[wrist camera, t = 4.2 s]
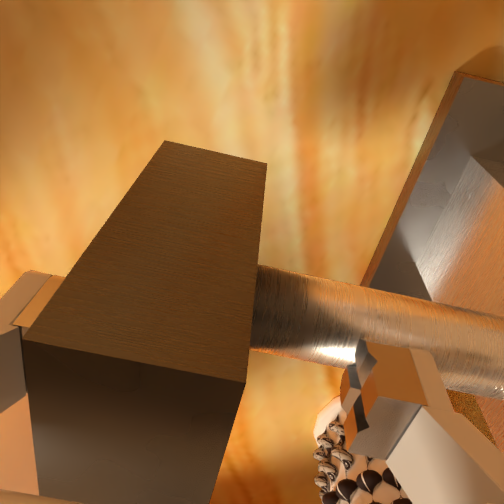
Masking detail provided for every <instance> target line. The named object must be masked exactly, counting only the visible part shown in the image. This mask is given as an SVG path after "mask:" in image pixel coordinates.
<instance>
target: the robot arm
mask: <svg viewBox="0 0 504 504" xmlns="http://www.w3.org/2000/svg"><path fill="white" fill-rule="evenodd" d="M64 279H65V277H61V276H57V275H50V274H46V273H41V272H37V271H33V270H30V271H27V272H25V273H24V274H23V275H22V276H21V277H20V278H19V279H18V280H17V281H16V282H15V284H14V285H13V286H12V287H11V288H10V289H9V290H8V291H7V293H6V294H5V295H4V296H3V297H2V298H1V299H0V414H1V413H2V412H3V411H5V410H6V409H8V408H9V407H11V406H12V405H13V404H15V403H16V402H18V401H19V400H21V399H22V398H24V397H25V396H26V393H27V384H26V375H25V366H24V357H23V348H22V340H21V339H22V338H23V336H24V335H25V333H26V332H27V331H28V329H29V328H30V326H31V325H32V324H33V322H34V321H35V320H36V318H37V317H38V315H39V314H40V313H41V311H42V310H43V308H44V307H45V306H46V304H47V303H48V301H49V300H50V299H51V297H52V296H53V295H54V293H55V292H56V290H57V289H58V288H59V286H60V285H61V283H62V282H63V281H64ZM354 357H355V363H354V364H351V365H347V366H346V368H345V371H344V373H343V375H342V380H341V386H340V401H341V407H342V408H343V410H344V411H345V412H346V413H347V415H348V416H347V418H346V420H345V422H344V424H343V425H344V432H345V440H346V447H347V452H349V453H354V454H358V455H363V456H368V457H372V458H377V459H381V460H386V464H387V465H388V467H389V468H390V470H391V472H392V473H393V475H394V476H395V478H396V479H397V481H398V482H399V484H400V485H401V487H402V488H403V490H404V491H405V493H406V494H407V496H408V497H409V499H410V500H411V502H412V503H413V504H504V454H503V453H502V452H501V451H500V450H499V449H498V448H497V447H496V446H495V445H494V444H493V443H492V442H491V441H490V440H489V439H488V438H487V437H486V436H484V435H483V434H482V433H481V432H480V431H479V430H478V429H477V428H476V427H475V426H474V425H473V424H472V423H471V422H470V421H469V420H468V419H467V418H466V417H465V416H464V415H463V414H461V413H457V412H455V411H454V409H453V406H452V404H451V401H450V399H449V396H448V394H447V391H446V389H445V386H444V384H443V381H442V379H441V376H440V373H439V371H438V368H437V366H436V363H435V361H434V358H433V356H432V354H431V353H430V352H429V351H427V350H422V349H416V348H411V347H403V346H398V345H392V344H387V343H382V342H377V341H372V340H367V339H362V338H361V339H360V340H359V342H358V344H357V347H356V350H355V353H354ZM0 504H84V503H78V502H72V501H67V500H61V499H55V498H49V497H44V496H38V495H32V494H27V493H21V492H15V491H10V490H4V489H0Z"/></svg>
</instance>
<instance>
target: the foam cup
mask: <svg viewBox="0 0 504 504" xmlns="http://www.w3.org/2000/svg"><path fill="white" fill-rule="evenodd" d="M0 489H4V490H10V491H15V492H21V493H27V494H32V495H38V496H39V490H38V481H37V472H36V463H35V454H34V445H33V437H32V428H31V419H30V410H29V401H28V393H26V396H25V397H24V398H22V399H21V400H19V401H18V402H16V403H15V404H13V405H12V406H11V407H9V408H8V409H6V410H5V411H3V412H2V413H1V414H0Z"/></svg>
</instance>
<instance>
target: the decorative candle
mask: <svg viewBox="0 0 504 504" xmlns="http://www.w3.org/2000/svg"><path fill="white" fill-rule="evenodd" d="M347 416H348V415H347V413H346V412H345V411H344V410H343V408H342V407H341V401H340V396H338V397H336V398H333V399H332V400H331V401H330V402H329V403H328V404H327V405H326V406H325V407H324V408H323V409H322V410H321V411H320V412H319V413H318V416H317V420H316V423H315V427H314V437H315V440H316V442H317V445H318V447H319V448H318V449H316V450H315V451H314V452H313V456H314V458H315V459H317V460H319V461H320V462H319V465H318V471H319V472H320V473H319V474H317V475H316V476H315V478H314V481H315V484H316V485H317V486H319V487H321V488H322V489H321V490H320V492H319V496H320V498H321V499H322V504H413V503H412V502H411V500H410V499H409V497H408V496H407V494H406V493H405V491H404V490H403V488H402V487H401V485H400V484H399V482H398V481H397V479H396V478H395V476H394V475H393V473H392V472H391V470H390V468H389V467H388V465H387V464H386V460H381V459H377V458H372V457H368V456H363V455H358V454H354V453H349V452H347V447H346V440H345V432H344V425H343V424H344V422H345V420H346V418H347Z"/></svg>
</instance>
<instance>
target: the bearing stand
mask: <svg viewBox="0 0 504 504" xmlns="http://www.w3.org/2000/svg"><path fill="white" fill-rule="evenodd" d="M360 286H362V287H367V288H372V289H376V290H381V291H386V292H390V293H395V294H400V295H405V296H409V297H414V298H419V299H423V300H428V301H433V302H437V303H442V304H447V305H452V306H456V307H461V308H466V309H470V310H475V311H480V312H485V313H489V314H494V315H499V316H503V317H504V83H501V82H497V81H493V80H489V79H485V78H481V77H477V76H473V75H469V74H465V73H461V72H457V71H455V72H454V74H453V76H452V79H451V81H450V83H449V86H448V88H447V90H446V92H445V95H444V97H443V99H442V101H441V104H440V106H439V108H438V110H437V113H436V115H435V117H434V119H433V122H432V124H431V126H430V129H429V131H428V133H427V135H426V138H425V140H424V142H423V144H422V147H421V149H420V151H419V153H418V156H417V158H416V160H415V162H414V165H413V167H412V169H411V172H410V174H409V176H408V178H407V181H406V183H405V185H404V187H403V190H402V192H401V194H400V196H399V199H398V201H397V203H396V205H395V208H394V210H393V212H392V215H391V217H390V219H389V221H388V224H387V226H386V228H385V230H384V233H383V235H382V237H381V239H380V242H379V244H378V246H377V248H376V251H375V253H374V255H373V258H372V260H371V262H370V264H369V267H368V269H367V271H366V273H365V276H364V278H363V280H362V282H361V285H360ZM474 396H475V398H476V400H477V403H478V405H479V407H480V409H481V412H482V414H483V416H484V418H485V421H486V423H487V425H488V427H489V430H490V432H491V434H492V436H493V439H494V441H495V443H496V445H497V448H498V449H499V450H500V451H501V452H502V453H503V454H504V401H503V400H498V399H493V398H488V397H483V396H478V395H474Z"/></svg>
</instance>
